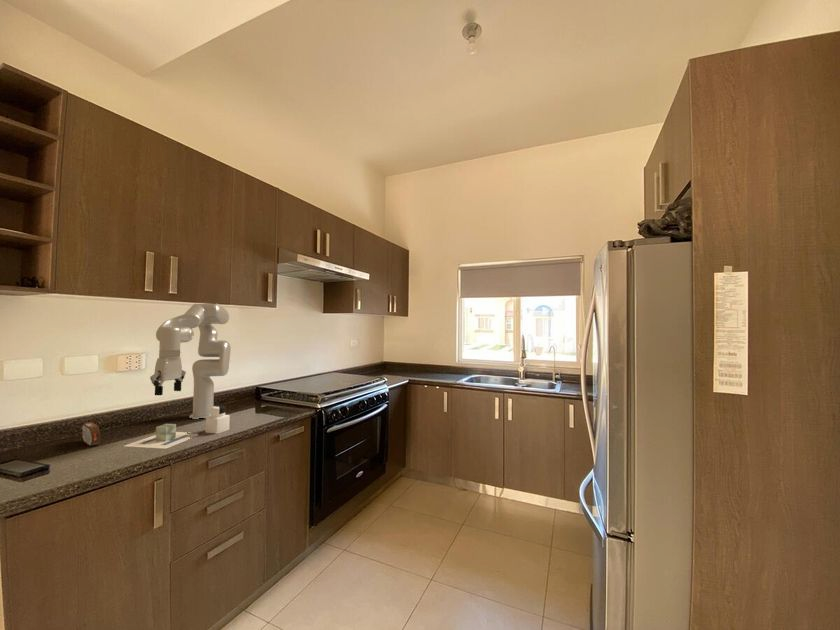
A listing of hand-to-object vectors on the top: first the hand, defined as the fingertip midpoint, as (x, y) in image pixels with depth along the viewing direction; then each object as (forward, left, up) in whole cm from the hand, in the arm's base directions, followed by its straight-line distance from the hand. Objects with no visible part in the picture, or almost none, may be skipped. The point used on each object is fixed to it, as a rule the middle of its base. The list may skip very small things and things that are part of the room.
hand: (168, 393), depth 148 cm
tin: (+9, -28, -21) cm, 36 cm away
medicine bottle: (-14, +13, -21) cm, 28 cm away
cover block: (0, -1, -20) cm, 20 cm away
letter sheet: (0, -1, -20) cm, 21 cm away
